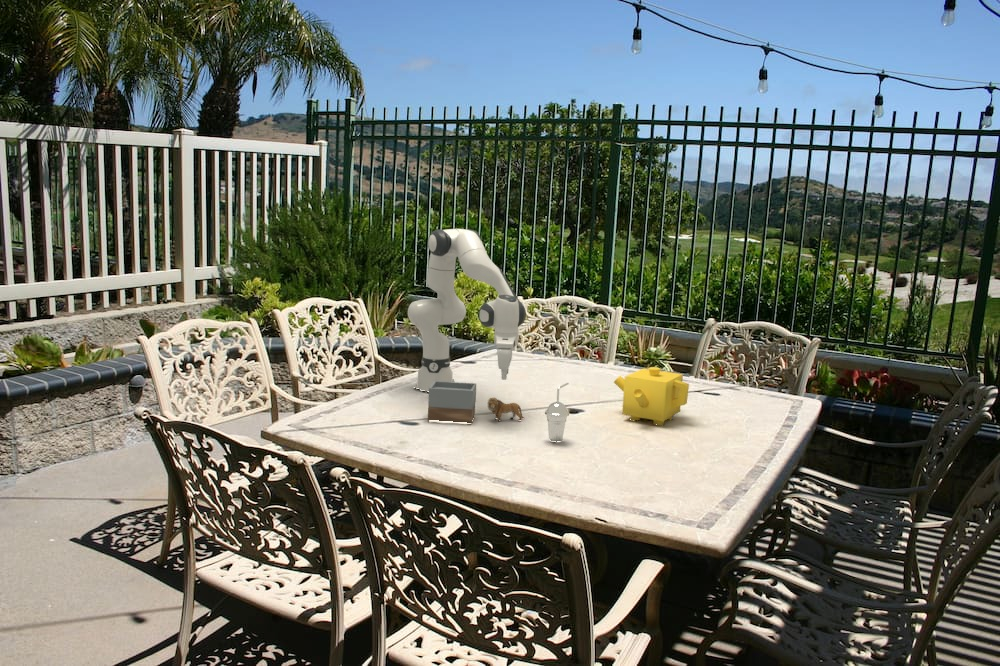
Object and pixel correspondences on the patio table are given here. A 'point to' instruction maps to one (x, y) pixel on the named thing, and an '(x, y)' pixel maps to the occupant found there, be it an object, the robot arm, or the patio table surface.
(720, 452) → the patio table surface
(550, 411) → the cup with straw
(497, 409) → the lion figurine
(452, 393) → the grey storage bin
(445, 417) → the tower bottom
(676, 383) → the yellow teapot
